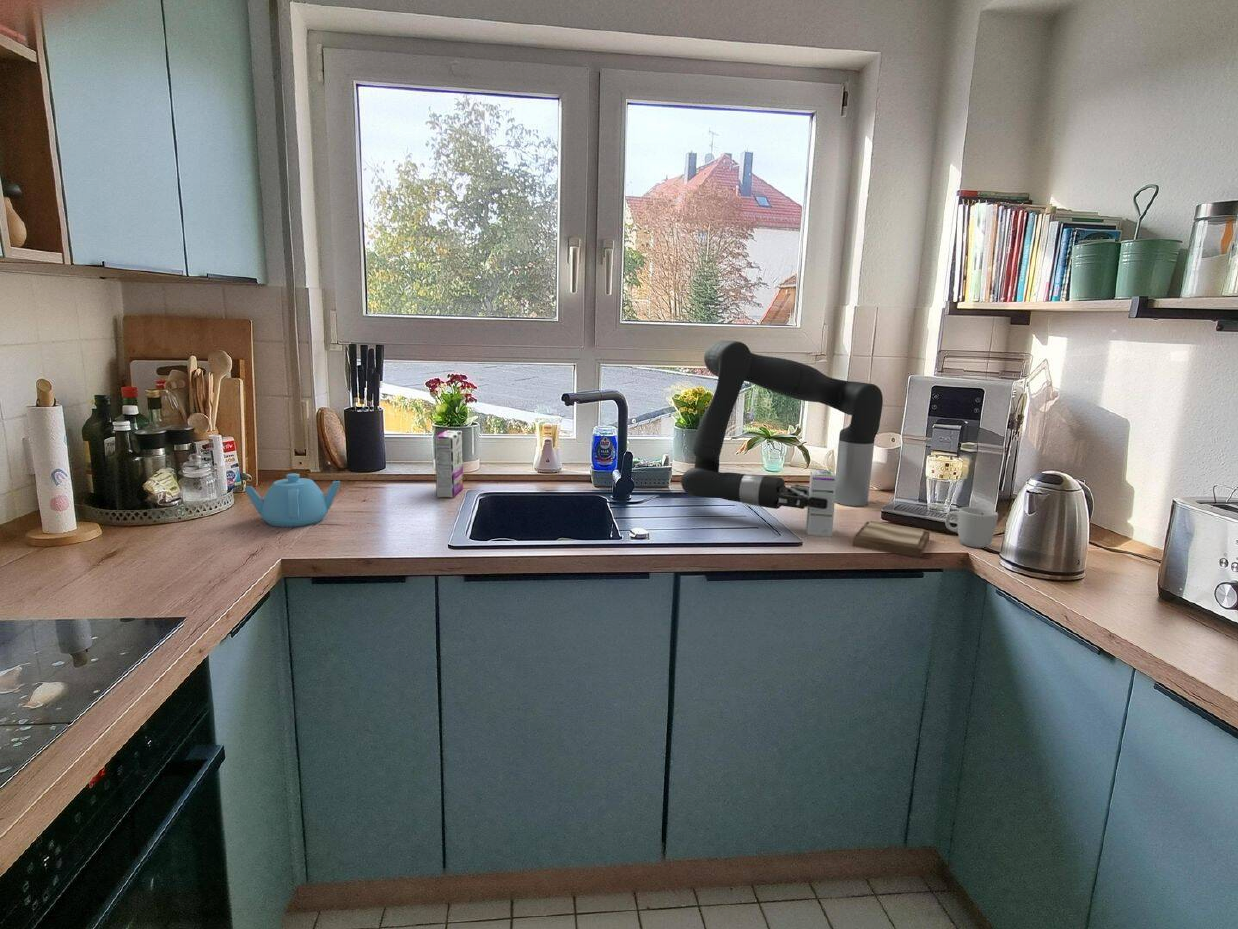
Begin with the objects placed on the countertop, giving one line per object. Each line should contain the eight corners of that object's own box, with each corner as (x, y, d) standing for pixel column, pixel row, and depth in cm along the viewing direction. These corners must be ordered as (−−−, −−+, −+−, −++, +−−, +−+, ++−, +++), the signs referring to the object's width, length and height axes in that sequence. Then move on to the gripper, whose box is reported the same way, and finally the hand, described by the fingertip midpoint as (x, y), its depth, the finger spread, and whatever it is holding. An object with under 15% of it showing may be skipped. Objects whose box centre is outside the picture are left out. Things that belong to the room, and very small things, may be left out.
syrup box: (832, 537, 163) (838, 475, 160) (806, 535, 164) (811, 473, 162) (830, 530, 169) (836, 470, 166) (804, 528, 170) (810, 469, 167)
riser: (866, 529, 171) (867, 519, 170) (928, 539, 164) (930, 529, 164) (852, 546, 157) (853, 535, 157) (920, 557, 151) (921, 546, 150)
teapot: (241, 524, 158) (238, 476, 156) (293, 508, 172) (291, 465, 170) (295, 533, 153) (292, 484, 151) (344, 516, 167) (342, 471, 165)
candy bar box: (445, 488, 198) (444, 429, 195) (463, 488, 198) (463, 430, 195) (434, 497, 187) (433, 436, 184) (453, 498, 187) (453, 436, 184)
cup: (937, 541, 163) (941, 507, 161) (949, 535, 169) (953, 502, 167) (987, 552, 156) (992, 517, 154) (998, 545, 162) (1003, 511, 160)
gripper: (753, 480, 165) (825, 490, 157) (771, 471, 177) (839, 479, 169) (751, 512, 166) (822, 523, 159) (769, 500, 179) (836, 510, 171)
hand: (830, 501), depth 164 cm, fingers closed on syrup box, 7 cm apart
